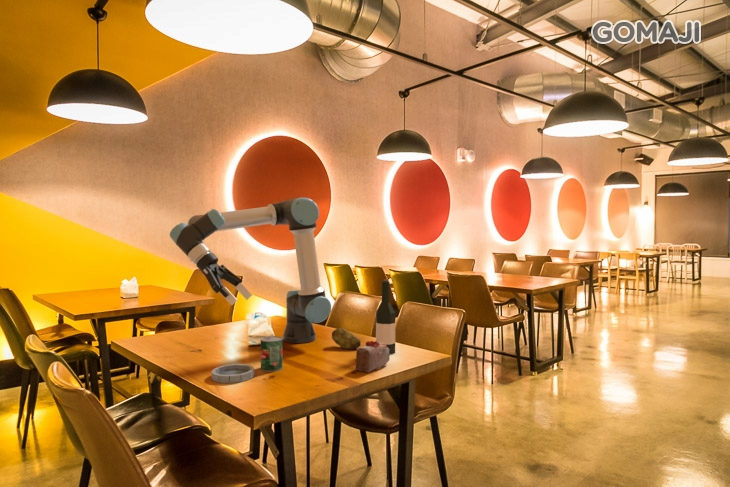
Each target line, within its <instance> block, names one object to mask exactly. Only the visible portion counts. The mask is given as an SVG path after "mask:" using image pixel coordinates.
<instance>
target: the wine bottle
mask: <svg viewBox="0 0 730 487" xmlns="http://www.w3.org/2000/svg"><path fill="white" fill-rule="evenodd" d="M390 283H391V282H390V281H389V279H383V280H382V281H381V302H380V304H379V306H377V307H378V308H377V309H376V311H375V341H377V342H382V343H384V344H385V345H387V347H388V348H389V349H390V351H389V353H390V354H391V355H393V354H396V311H395V310H394V308H393V306H392V304H391V300H390V298H391V295H390V294H391V292H390V290H391V289H390V286H391V284H390Z"/></svg>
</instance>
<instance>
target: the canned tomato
mask: <svg viewBox="0 0 730 487" xmlns="http://www.w3.org/2000/svg"><path fill="white" fill-rule="evenodd" d="M282 369H283V336H282V337H281V336H278V335H277V336H276V335H270V336H263V337H261V338H260V370H261V371H263V372H267V373H273V372H278V371H279V372H280V371H281V370H282Z"/></svg>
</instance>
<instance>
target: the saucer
mask: <svg viewBox="0 0 730 487" xmlns="http://www.w3.org/2000/svg"><path fill="white" fill-rule="evenodd" d="M255 371H256V370H255V367H254V366H253V365H250V364H247V363H246V364H245V363H232V364H231V363H230V364H224V365H222V366H217V367H215V368H213V369H211V381H213V382H215V383H218V384H237V383H242V382H244V383H245V382H247V381H249V380H252V379H253V378H254V377H255Z"/></svg>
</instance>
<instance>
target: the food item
mask: <svg viewBox="0 0 730 487" xmlns="http://www.w3.org/2000/svg"><path fill="white" fill-rule="evenodd" d="M355 351H356V353H355V354H356V355H355V371H358V370H359V371H358V372H363V371H364V372H363V373H366V372H369V373H370V372H372V371H374V370H380V369H381V368H382V367H384V366H385V365H387V363H389V362H390V353H389V351H390V349H389V348H388V347H387V345H385V344H384V343H382V342H377V341H376V340H375V341H374V340H372V341H371V340H370V341H369V340H367V341H366V342H365V345H364V346H359V347H358V348H356V350H355ZM379 368H380V369H379Z"/></svg>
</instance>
